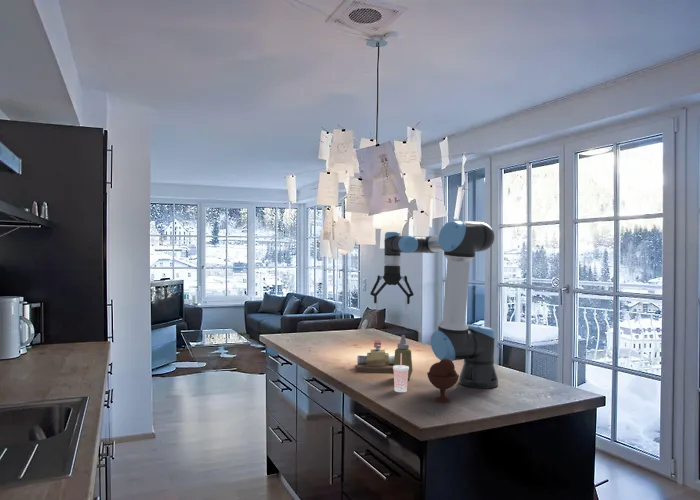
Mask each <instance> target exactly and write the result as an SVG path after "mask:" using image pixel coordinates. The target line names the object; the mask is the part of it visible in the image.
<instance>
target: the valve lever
mask: <svg viewBox="0 0 700 500" xmlns="http://www.w3.org/2000/svg"><path fill="white" fill-rule="evenodd" d="M381 347H382V342H381V340H377V339H376V340H373V348H375V349H376V351H380V349H381Z"/></svg>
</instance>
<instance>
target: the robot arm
mask: <svg viewBox="0 0 700 500" xmlns="http://www.w3.org/2000/svg"><path fill="white" fill-rule="evenodd" d="M495 237H496V236H495V232H494V230H493V228H492V227H491V225H489V224H488V223H485V222H483V221H468V220H467V221H466V220H450V221H448V222H446V223H445V224H444V225H442V227H441V229H440V231H439V234H436V235H429V236H420V235H419V236H417V235H402V233H401V232H399V231H386V232H385V233H384V240H383V241H384V253H383V254H384V259H383V260H384V261H383V262H384V263H383V264H384V266H383V270H384V271H383V275H380V274H378V275H377V277H376V281H375V283H374V285H373V286H372V290H371V291H370V296H373V302H374V304H375V305H376V309H375V310H376V312H378V311H379V296H378V295H379V294H380V292H382V290H383V289H384V288H385V287H386V286H387V285H388V286H398V287H399V288H400V289H401V291H402V292H403V293H404V294H405V299H404V311H405V312H408V305H410V298H411V297H412V296H413V297H414V292H413V290H412V288H411V285H410V283H409V281H408V276H407V275H401V255H402V254H404V253H405V254H413V253H414V254H416V253H417V254H421V253H422V254H423V253H424V254H437V253H439V252H443V256H444V257H445V259H446V261H447V263H446V274H445V287H444V299H443V310H442V320H441V321H440V322H439V323H438V324H437V330H435V331H434V332H432V334H431V335H430V346H431V350H432V352H433V355H435V357H436V358H437V359H438V360H440V361H441V360H442V359H450V360H451V361H452V362H453V361H459V360H463V365H462V368H461V371H460V374H459V378H458V383H459V384H460V385H463V386H465V387H470V388H477V389H491V388H492V389H493V388H496V387H498V386H499V377H498V375H497V372H496V369H495V358H494V357H495V331H494V329H493V328H492V327H488V326H482V325H474V324H467V323H466V316H467V305H468V304H467V303H468V291H469V282H470V281H469V280H470V267H471V261H472V260H474V259H475V256H476V252H485V251H487V250H488V249H490V248H491V247H492V245H494V242H495ZM382 279H383V280H384V282H383V283H382V285H381V286H380V287H379V288H378V289H377V290H376V288H377V286H379V283H380V281H382ZM401 279H402V281H404V282H405V283H404V284H405V285H406V287H407V289H408V290H406V289H405V287H403V285H402V284H401V283H400V281H401ZM408 291H409V293H408Z"/></svg>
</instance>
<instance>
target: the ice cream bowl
mask: <svg viewBox="0 0 700 500" xmlns="http://www.w3.org/2000/svg"><path fill="white" fill-rule="evenodd" d="M455 368H456V367H455V364H454V362H453V361H451V360H450V359H442V360H440V361H439V362H438V361H437V362H434V363H433V364H432V365H431V366H430V368H429V371H428V372H426V374H427V377H428V381H429V382H430V383H431V384H432V386H433V387H435V388H436V389H438V390H439V391H440V393H439V396H437V397H436V398H434V402H436V403H438V404H439V403H441V404H449V403H451V399H450V398H449V397H448V396H446V390H448V389H451V388H453V387H454V386H455V385H456V384H457V383H458V382H459V376H460V374H458V373H457V371H456V370H455Z"/></svg>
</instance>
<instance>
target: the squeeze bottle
mask: <svg viewBox="0 0 700 500" xmlns="http://www.w3.org/2000/svg"><path fill="white" fill-rule="evenodd" d="M400 338H401V339H400V343H399V342H398V343H397V348H396V349H395V350H394V365H393V366H395V365H400V359H401V353H402V365H405V366H409V370H408V380H410V379H411V377H412V373H413V359H412V350H411V349H410V345H409V343H407V339H406V335H405V334H402V335H401V337H400ZM393 371H394V369H393Z"/></svg>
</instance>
